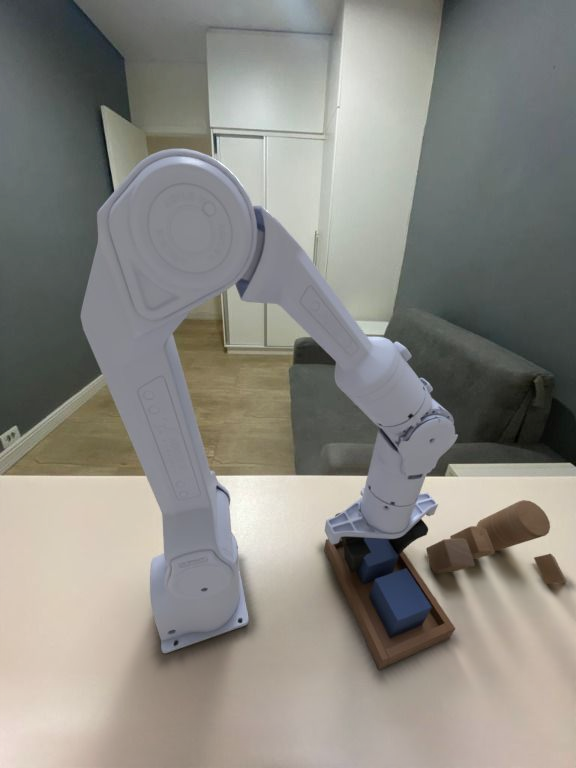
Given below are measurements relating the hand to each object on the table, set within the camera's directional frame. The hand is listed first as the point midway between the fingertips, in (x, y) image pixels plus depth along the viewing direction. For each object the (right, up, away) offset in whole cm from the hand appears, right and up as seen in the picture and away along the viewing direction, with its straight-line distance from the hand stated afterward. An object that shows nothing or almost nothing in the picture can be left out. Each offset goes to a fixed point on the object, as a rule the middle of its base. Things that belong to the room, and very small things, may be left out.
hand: (370, 557), depth 41 cm
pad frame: (+1, -3, -1) cm, 4 cm away
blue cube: (+2, -4, -4) cm, 6 cm away
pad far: (0, -1, +1) cm, 1 cm away
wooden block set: (+17, -2, +3) cm, 18 cm away
